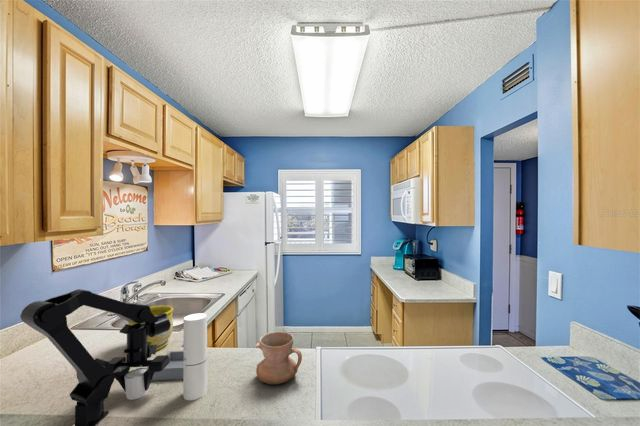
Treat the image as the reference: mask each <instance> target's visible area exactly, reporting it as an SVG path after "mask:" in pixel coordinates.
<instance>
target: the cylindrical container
mask: <svg viewBox="0 0 640 426" xmlns="http://www.w3.org/2000/svg"><path fill="white" fill-rule="evenodd" d="M183 351H184V364H183V379H182V380H183V385H182V387H183V393H182V394H183V399H184V400H186V401H197V400H200V399H201V398H203V397H204V396H206V394H207V393H208V315H207V313H202V312H200V313H191V314H188V315H186V316H184V317H183Z"/></svg>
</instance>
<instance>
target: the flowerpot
mask: <svg viewBox="0 0 640 426" xmlns="http://www.w3.org/2000/svg"><path fill="white" fill-rule="evenodd" d="M149 307H150V310H151V313H152V314H153V315H154V316H156V315H158V314H160V313H166V316H167V317H168V319H169V321H170V323H171V325H170V329H169V330H168V331H166V332H164V333H161V334H159V335H156V336H154V337H149V336H148V335H147V342H149V343H150V345H157V349H156V352H157V351H159V350H162V349H164V348H165V347H166V346H167V345H168V343H169V342H170V340H169V339H170V337H171V335H172V333H173V329H174V320H173V312H174V308H173V307H172V306H171V305H151V306H149ZM127 323H128V325H133V324H136V323H135V322H130V321H127ZM144 323H145V322H144ZM140 324H143V323H140Z"/></svg>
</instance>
